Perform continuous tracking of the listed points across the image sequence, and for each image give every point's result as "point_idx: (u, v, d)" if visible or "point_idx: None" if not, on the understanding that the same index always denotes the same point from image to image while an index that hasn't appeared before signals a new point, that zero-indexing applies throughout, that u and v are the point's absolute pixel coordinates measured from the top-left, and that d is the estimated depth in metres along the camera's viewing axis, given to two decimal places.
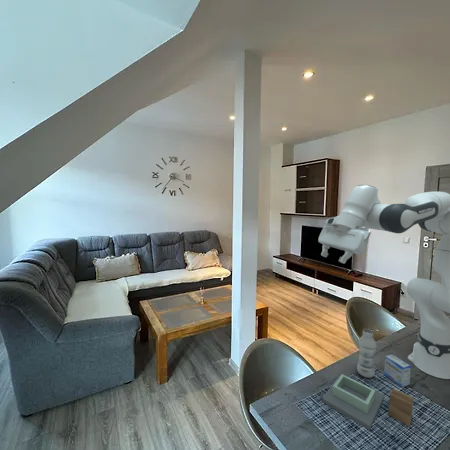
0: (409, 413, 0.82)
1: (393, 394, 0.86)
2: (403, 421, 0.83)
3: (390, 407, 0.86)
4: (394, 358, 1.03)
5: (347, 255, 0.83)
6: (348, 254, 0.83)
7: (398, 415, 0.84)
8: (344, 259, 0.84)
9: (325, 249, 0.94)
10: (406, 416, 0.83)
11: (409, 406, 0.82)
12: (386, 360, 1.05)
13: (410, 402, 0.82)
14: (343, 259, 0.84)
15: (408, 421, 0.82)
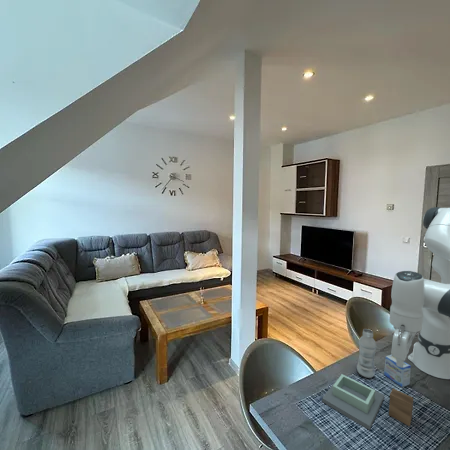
0: (409, 413, 0.82)
1: (393, 394, 0.86)
2: (403, 421, 0.83)
3: (390, 407, 0.86)
4: (394, 358, 1.03)
5: (398, 359, 0.79)
6: None
7: (398, 415, 0.84)
8: (399, 363, 0.79)
9: None
10: (406, 416, 0.83)
11: (409, 406, 0.82)
12: (386, 360, 1.05)
13: (410, 402, 0.82)
14: (398, 362, 0.80)
15: (408, 421, 0.82)
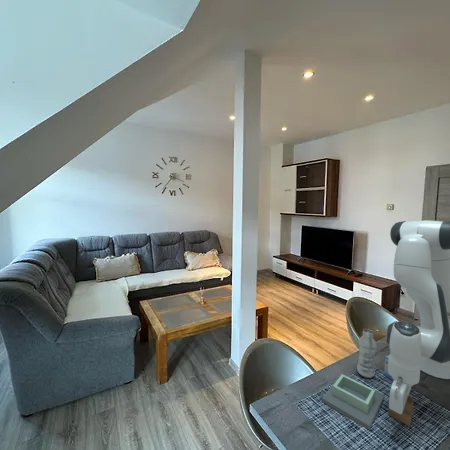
0: (409, 413, 0.82)
1: None
2: (403, 421, 0.83)
3: None
4: None
5: None
6: None
7: (398, 415, 0.84)
8: None
9: None
10: (406, 416, 0.83)
11: (409, 406, 0.82)
12: (386, 360, 1.05)
13: (410, 402, 0.82)
14: None
15: (408, 421, 0.82)
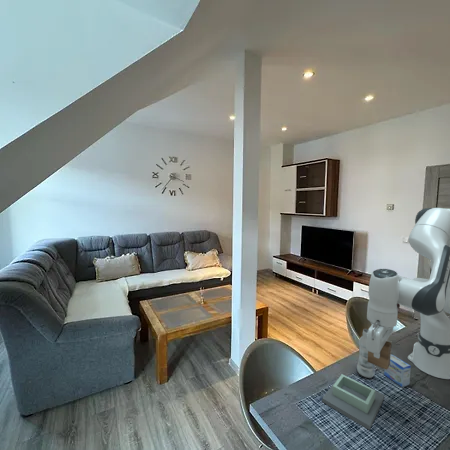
0: (387, 357, 0.83)
1: None
2: (381, 365, 0.85)
3: (369, 353, 0.87)
4: (394, 358, 1.03)
5: None
6: None
7: (376, 360, 0.86)
8: (376, 354, 0.84)
9: None
10: (384, 360, 0.84)
11: (387, 350, 0.83)
12: None
13: (388, 346, 0.84)
14: (375, 354, 0.85)
15: (386, 365, 0.84)
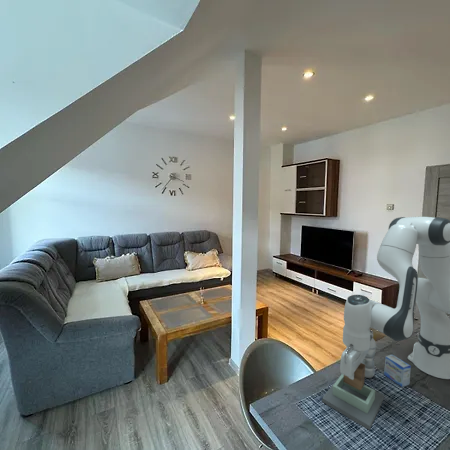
0: (360, 378, 0.88)
1: None
2: (355, 386, 0.90)
3: None
4: (394, 358, 1.03)
5: None
6: None
7: (351, 381, 0.91)
8: (350, 375, 0.89)
9: None
10: (358, 381, 0.89)
11: (360, 372, 0.88)
12: (386, 360, 1.05)
13: (361, 368, 0.89)
14: None
15: (359, 386, 0.89)
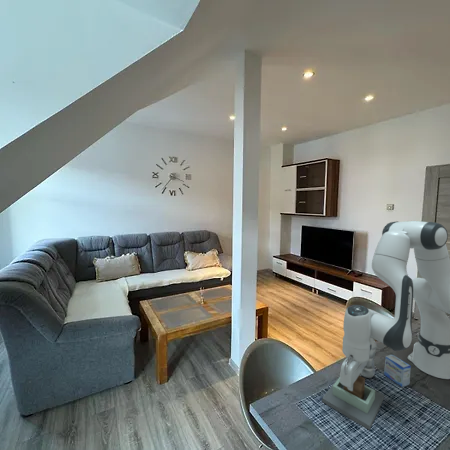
0: (360, 392, 0.89)
1: None
2: None
3: (344, 387, 0.93)
4: (394, 358, 1.03)
5: None
6: None
7: None
8: None
9: None
10: (358, 395, 0.90)
11: (360, 385, 0.89)
12: (386, 360, 1.05)
13: (361, 382, 0.89)
14: None
15: None
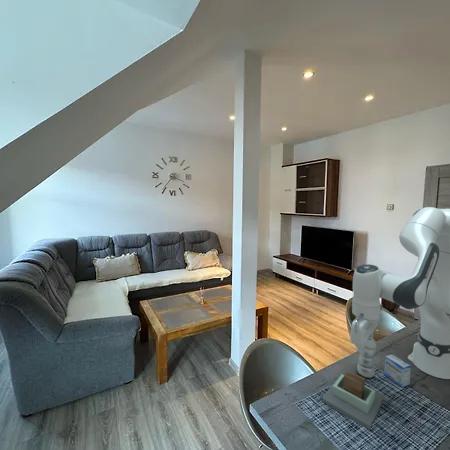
0: (360, 392, 0.89)
1: (347, 375, 0.93)
2: None
3: (344, 387, 0.93)
4: (394, 358, 1.03)
5: (358, 345, 0.86)
6: None
7: None
8: (359, 348, 0.87)
9: None
10: (358, 395, 0.90)
11: (360, 385, 0.89)
12: (386, 360, 1.05)
13: (361, 382, 0.89)
14: (358, 348, 0.87)
15: None
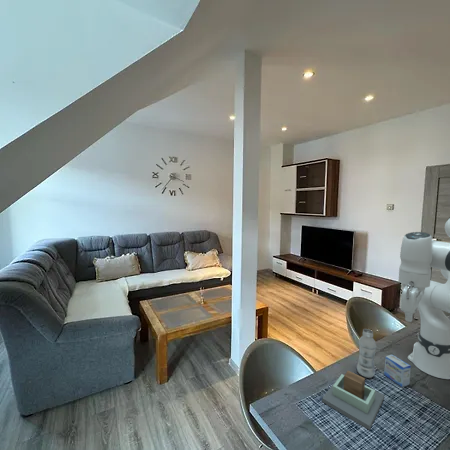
0: (360, 392, 0.89)
1: (347, 375, 0.93)
2: None
3: (344, 387, 0.93)
4: (394, 358, 1.03)
5: (407, 313, 0.83)
6: (407, 312, 0.83)
7: None
8: (408, 317, 0.84)
9: None
10: (358, 395, 0.90)
11: (360, 385, 0.89)
12: (386, 360, 1.05)
13: (361, 382, 0.89)
14: (407, 317, 0.84)
15: None
